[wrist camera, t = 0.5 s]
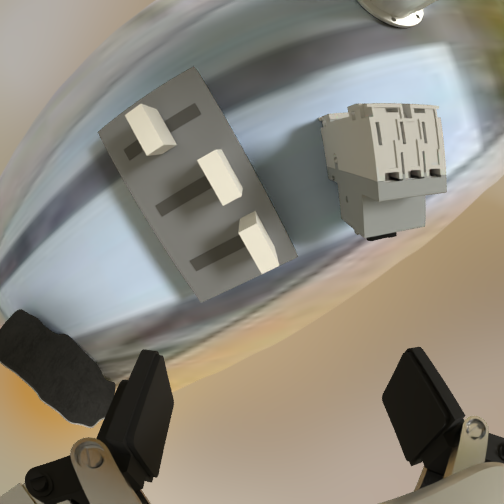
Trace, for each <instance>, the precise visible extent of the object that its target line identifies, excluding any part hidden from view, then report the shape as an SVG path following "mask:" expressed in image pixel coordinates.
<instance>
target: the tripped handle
mask: <svg viewBox="0 0 504 504" xmlns="http://www.w3.org/2000/svg"><path fill="white" fill-rule="evenodd" d="M125 117H126V119H127V121H128V122H129V124H130V126H131V128H132V130H133V132H134V133H135V135H136V137H137V139H138V141H139V143H140V144H141V146H142V148H143V150H144V152H145V153H146V155H147V156H150V155H159V154H163V153H165V152H166V151H168V150H170V149H171V148H173V147H174V146H176V145H177V144H176V142H175V140H174V139H173V137H172V135H171V133H170V131H169V130H168V128H167V126H166V124H165V123H164V121H163V119H162V117H161V115H160V114H159V112H158V110H157V109H155V108H152V107H149V106H147V105H144V104H139V105H138V106H137V107H135V108H134V109H132V110H131V111H130V112H128V113H127V114H126V115H125Z"/></svg>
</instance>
